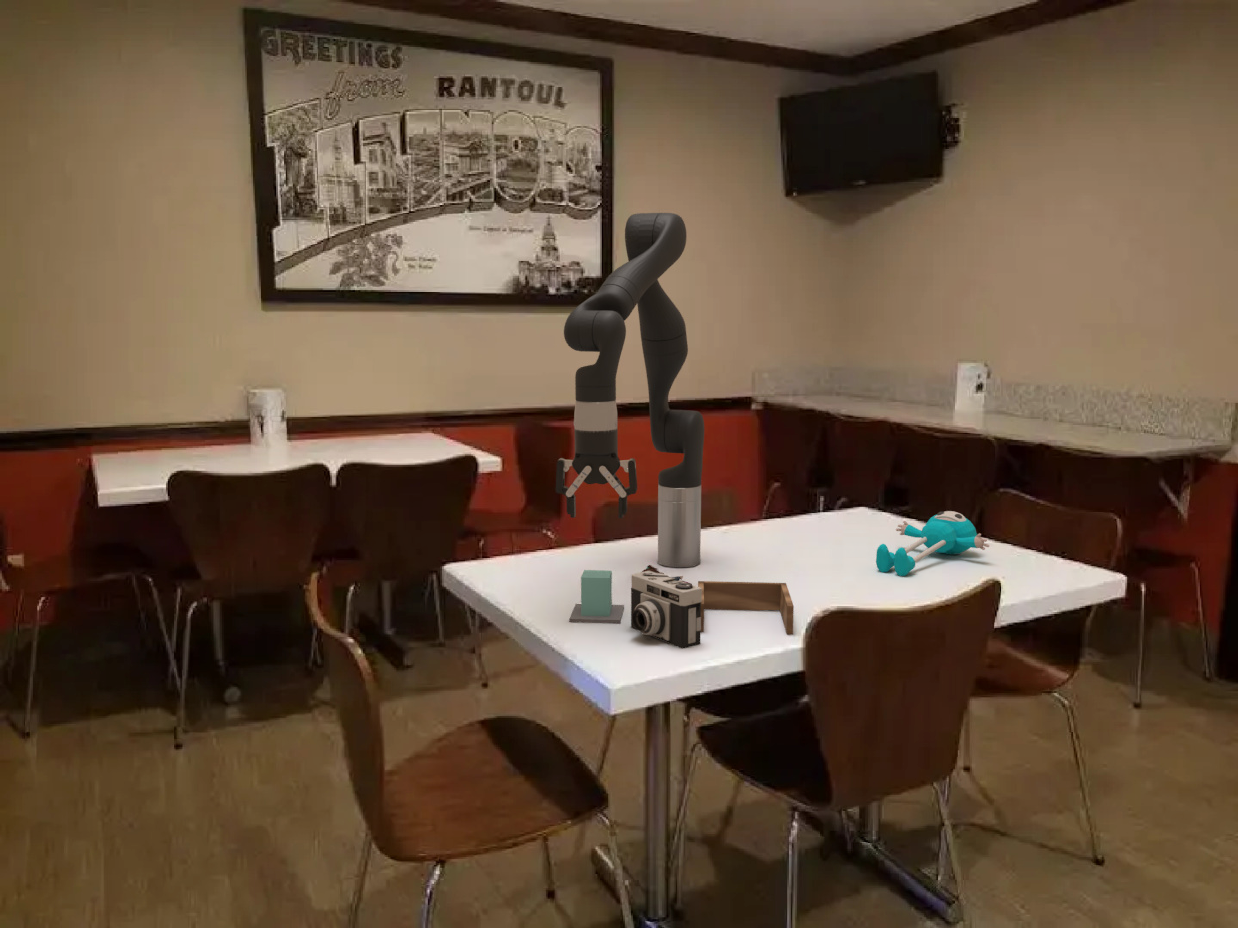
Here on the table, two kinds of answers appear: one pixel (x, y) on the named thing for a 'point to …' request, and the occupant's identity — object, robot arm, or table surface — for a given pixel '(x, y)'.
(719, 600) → the bay
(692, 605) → the camera
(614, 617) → the mat
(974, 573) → the table surface
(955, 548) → the toy
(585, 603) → the block
